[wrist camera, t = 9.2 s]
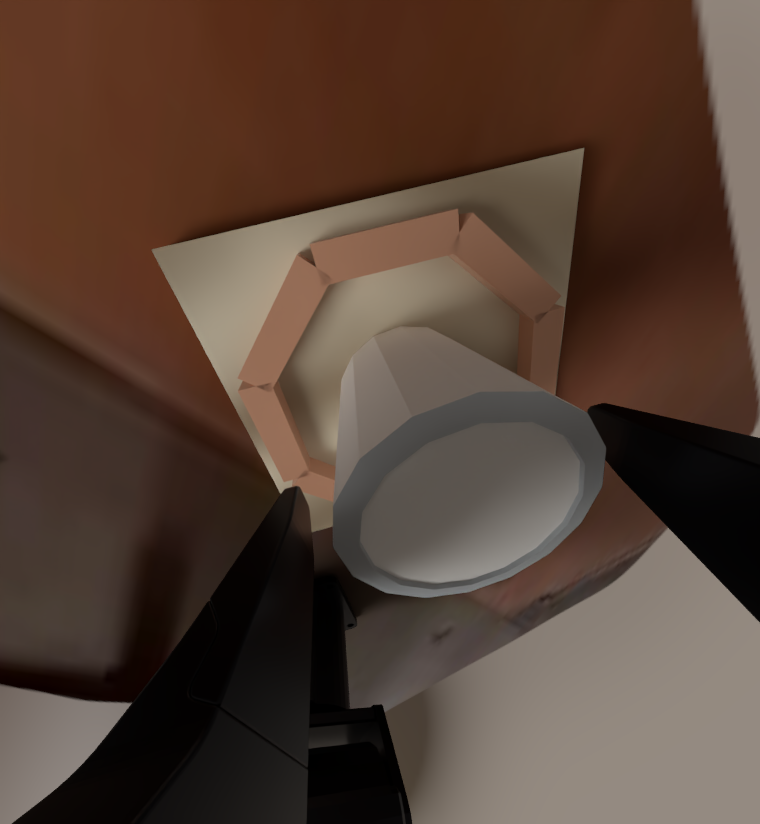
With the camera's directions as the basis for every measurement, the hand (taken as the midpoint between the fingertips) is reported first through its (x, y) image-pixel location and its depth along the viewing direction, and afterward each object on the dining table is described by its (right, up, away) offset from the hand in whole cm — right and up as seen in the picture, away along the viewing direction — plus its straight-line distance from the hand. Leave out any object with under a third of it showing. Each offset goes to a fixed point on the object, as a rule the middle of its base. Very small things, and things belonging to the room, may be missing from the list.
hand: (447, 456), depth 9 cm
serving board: (-1, +3, +5) cm, 6 cm away
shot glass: (-1, +2, +4) cm, 5 cm away
